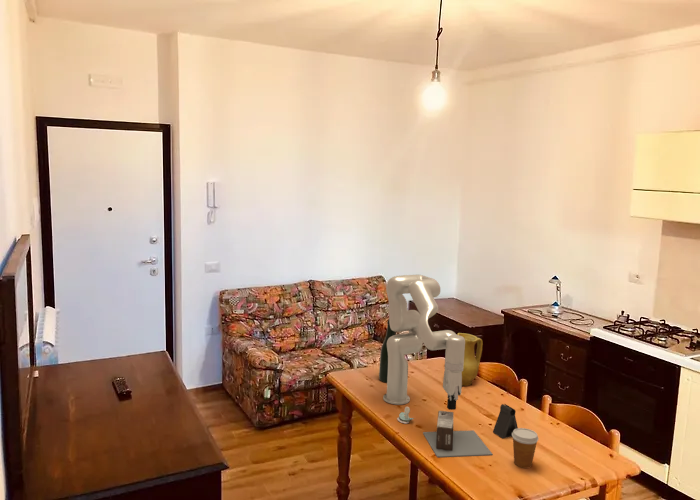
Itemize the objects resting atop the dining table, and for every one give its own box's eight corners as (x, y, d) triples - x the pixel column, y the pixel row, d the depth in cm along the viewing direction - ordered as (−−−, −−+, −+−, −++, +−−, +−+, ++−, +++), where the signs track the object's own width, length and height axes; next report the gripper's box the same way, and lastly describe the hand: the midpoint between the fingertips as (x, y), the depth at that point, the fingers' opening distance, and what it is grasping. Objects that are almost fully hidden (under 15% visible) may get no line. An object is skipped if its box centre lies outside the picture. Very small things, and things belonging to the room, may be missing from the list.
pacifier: (403, 426, 236) (415, 422, 239) (404, 412, 235) (415, 409, 238) (394, 419, 242) (405, 416, 245) (394, 405, 241) (405, 402, 244)
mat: (422, 433, 229) (422, 432, 229) (473, 431, 232) (473, 430, 232) (437, 457, 209) (437, 456, 209) (492, 455, 213) (492, 453, 213)
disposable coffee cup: (506, 456, 212) (509, 426, 210) (531, 457, 212) (534, 428, 210) (513, 469, 203) (515, 438, 201) (539, 470, 202) (542, 439, 201)
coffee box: (452, 432, 229) (452, 451, 214) (437, 430, 231) (435, 449, 215) (454, 411, 228) (453, 429, 212) (438, 410, 229) (436, 427, 214)
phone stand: (509, 429, 236) (511, 402, 234) (519, 435, 230) (521, 407, 229) (492, 432, 232) (494, 405, 231) (501, 438, 227) (504, 410, 225)
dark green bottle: (377, 376, 293) (380, 315, 289) (396, 376, 294) (399, 315, 290) (380, 383, 283) (383, 320, 279) (400, 383, 284) (403, 320, 280)
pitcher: (442, 373, 299) (447, 329, 295) (477, 378, 297) (483, 333, 293) (443, 386, 283) (448, 339, 278) (480, 391, 280) (486, 344, 276)
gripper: (439, 359, 232) (437, 401, 234) (451, 372, 217) (448, 416, 220) (456, 359, 233) (454, 401, 235) (469, 372, 218) (466, 416, 221)
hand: (451, 408), depth 227 cm, fingers closed
